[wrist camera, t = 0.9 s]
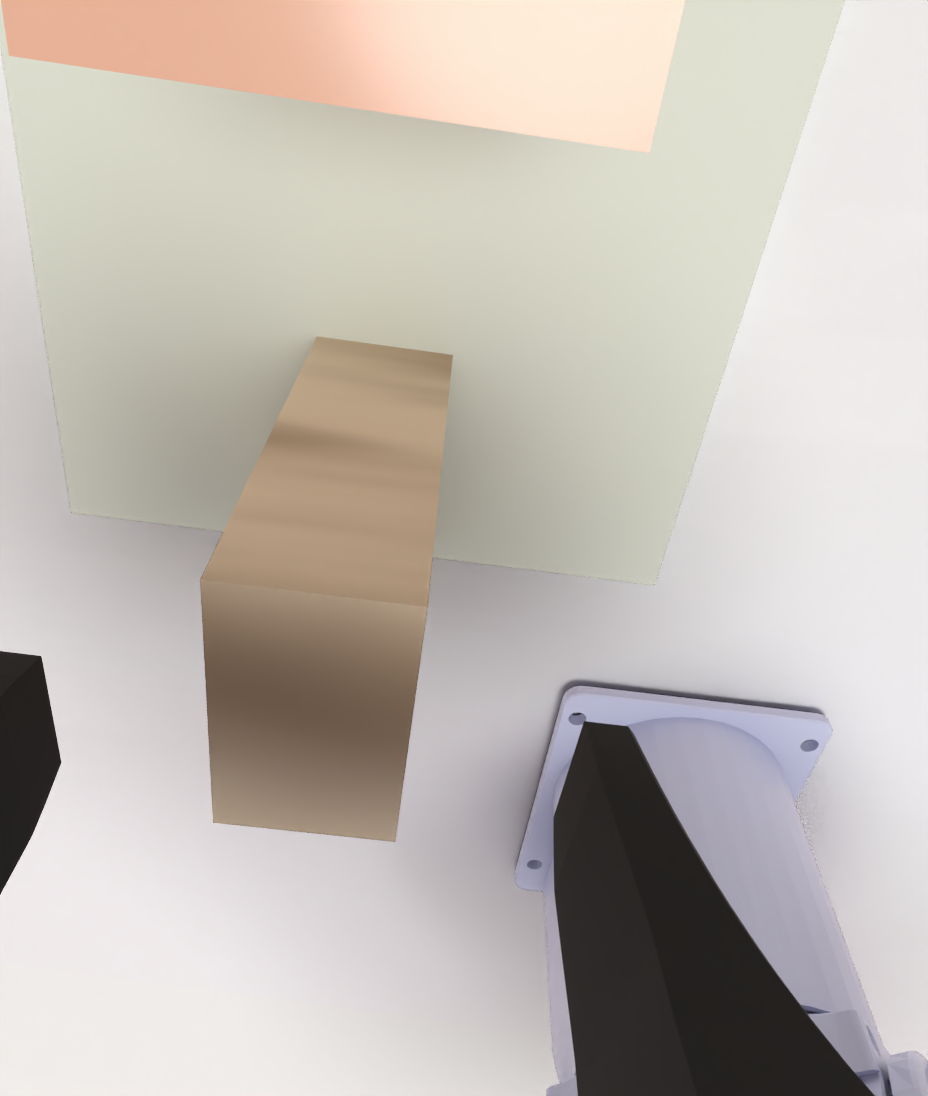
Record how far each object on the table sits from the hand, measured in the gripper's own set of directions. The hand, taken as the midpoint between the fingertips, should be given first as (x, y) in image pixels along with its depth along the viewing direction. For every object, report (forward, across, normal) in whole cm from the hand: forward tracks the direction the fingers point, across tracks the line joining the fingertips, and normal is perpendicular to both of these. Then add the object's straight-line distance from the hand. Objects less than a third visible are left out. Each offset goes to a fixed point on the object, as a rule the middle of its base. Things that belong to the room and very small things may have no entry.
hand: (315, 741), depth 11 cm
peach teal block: (+10, 0, -8) cm, 13 cm away
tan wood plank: (+10, 0, +1) cm, 10 cm away
